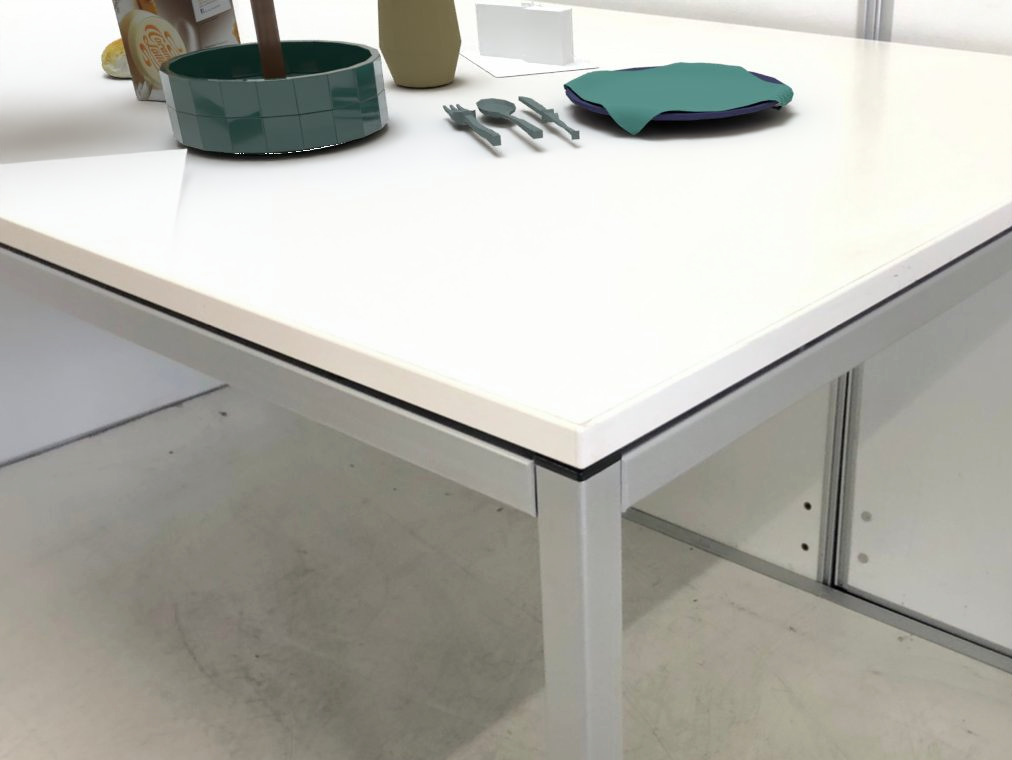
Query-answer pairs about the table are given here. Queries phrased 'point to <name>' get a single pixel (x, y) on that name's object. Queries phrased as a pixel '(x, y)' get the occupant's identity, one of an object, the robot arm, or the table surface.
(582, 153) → the table surface
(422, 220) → the table surface
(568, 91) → the cutlery set
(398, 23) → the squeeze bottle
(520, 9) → the napkin holder
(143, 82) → the coffee box
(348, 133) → the bowl
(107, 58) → the bread roll
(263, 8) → the brown pole stand
